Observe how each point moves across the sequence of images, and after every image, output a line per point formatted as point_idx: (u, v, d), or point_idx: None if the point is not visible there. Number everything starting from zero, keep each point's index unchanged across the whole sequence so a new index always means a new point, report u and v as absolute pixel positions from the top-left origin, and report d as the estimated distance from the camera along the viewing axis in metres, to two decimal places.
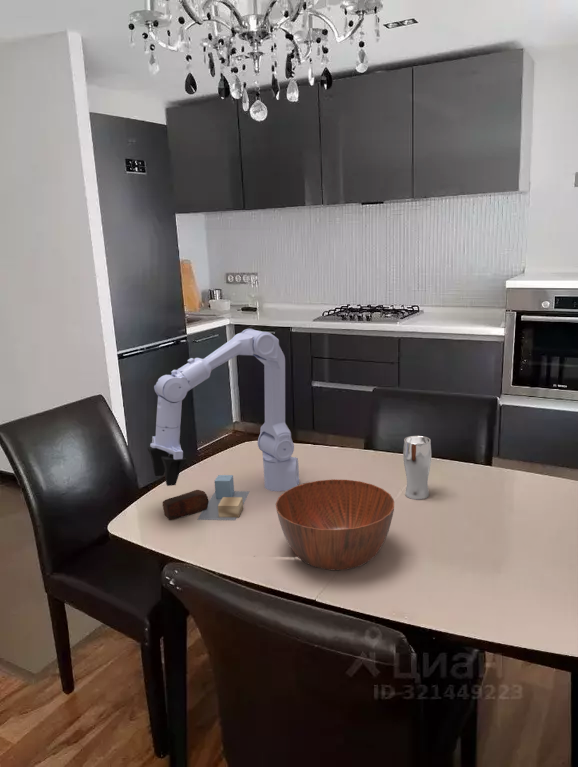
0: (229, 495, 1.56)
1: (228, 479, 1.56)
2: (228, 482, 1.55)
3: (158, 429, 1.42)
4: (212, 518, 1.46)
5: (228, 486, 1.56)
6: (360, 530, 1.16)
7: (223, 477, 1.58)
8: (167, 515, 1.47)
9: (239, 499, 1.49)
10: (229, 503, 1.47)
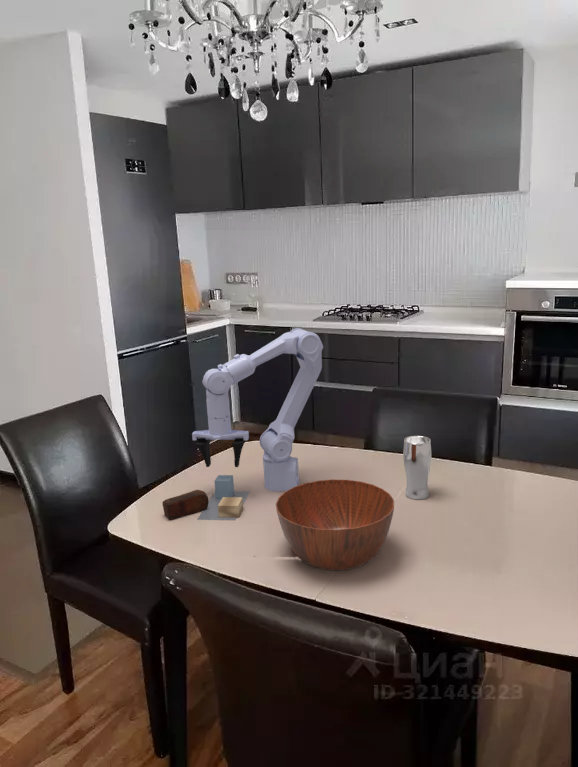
0: (229, 495, 1.56)
1: (228, 479, 1.56)
2: (228, 482, 1.55)
3: (219, 421, 1.51)
4: (212, 518, 1.46)
5: (228, 486, 1.56)
6: (360, 530, 1.16)
7: (223, 477, 1.58)
8: (167, 515, 1.47)
9: (239, 499, 1.49)
10: (229, 503, 1.47)
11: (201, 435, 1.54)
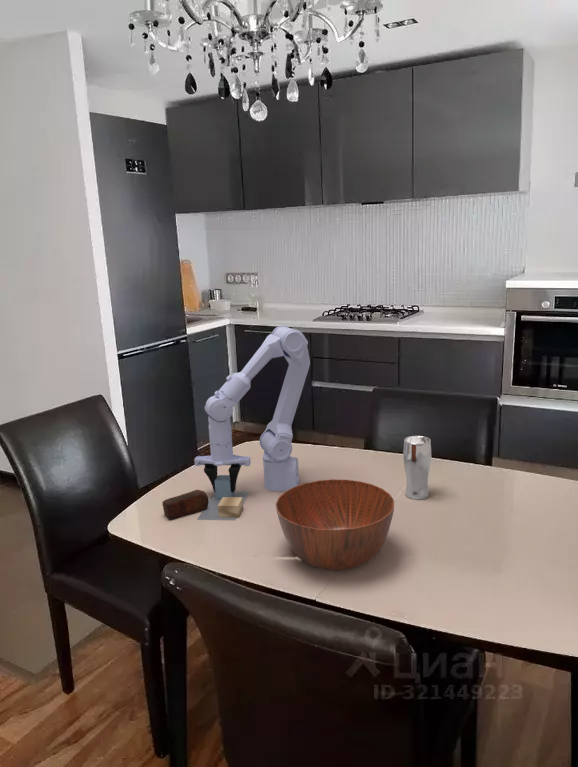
0: (229, 495, 1.56)
1: (228, 479, 1.56)
2: (228, 482, 1.55)
3: (221, 447, 1.53)
4: (212, 518, 1.46)
5: (228, 486, 1.56)
6: (360, 530, 1.16)
7: (223, 477, 1.58)
8: (167, 515, 1.47)
9: (239, 499, 1.49)
10: (229, 503, 1.47)
11: (203, 461, 1.56)
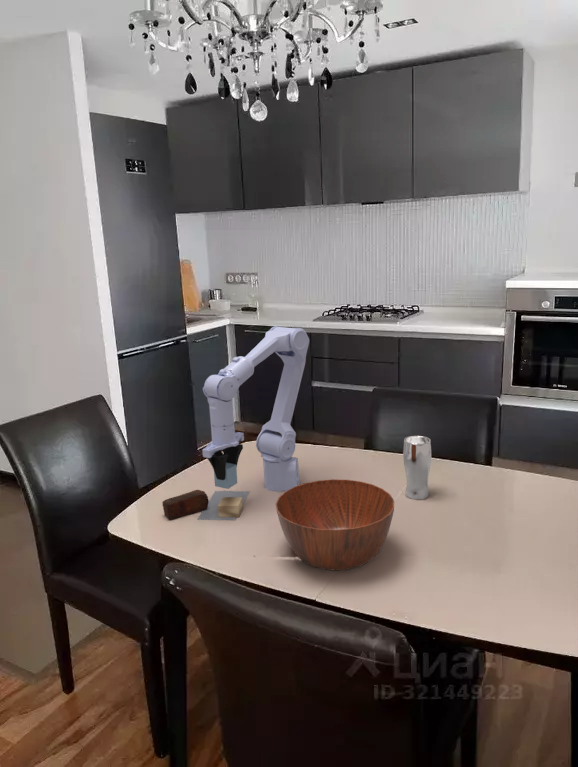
0: (236, 479, 1.51)
1: (231, 464, 1.50)
2: (235, 466, 1.50)
3: (233, 426, 1.46)
4: (212, 518, 1.46)
5: (235, 470, 1.50)
6: (360, 530, 1.16)
7: None
8: (167, 515, 1.47)
9: (239, 499, 1.49)
10: (229, 503, 1.47)
11: (217, 448, 1.43)
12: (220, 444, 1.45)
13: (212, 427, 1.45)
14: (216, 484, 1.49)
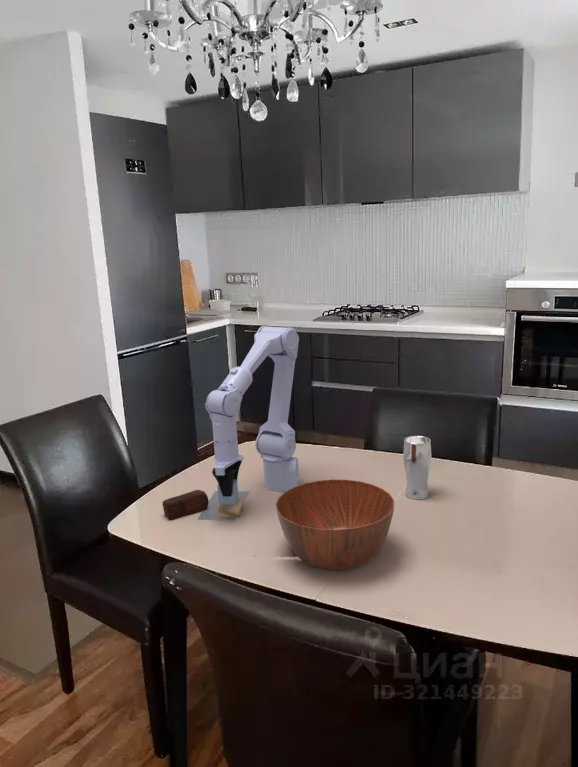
0: None
1: None
2: None
3: (237, 440, 1.45)
4: (212, 518, 1.46)
5: (237, 485, 1.48)
6: (360, 530, 1.16)
7: None
8: (167, 515, 1.47)
9: (239, 499, 1.49)
10: None
11: (228, 464, 1.41)
12: (228, 460, 1.42)
13: (218, 444, 1.42)
14: (220, 502, 1.46)
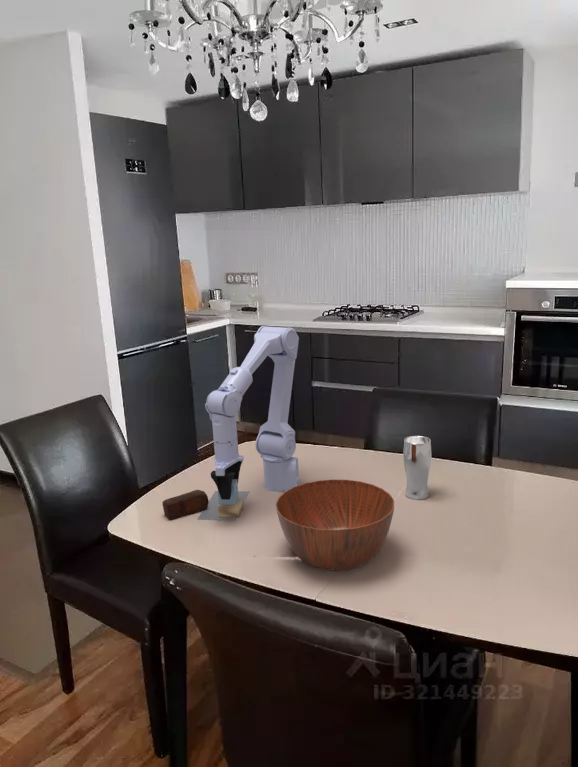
0: None
1: None
2: None
3: (237, 441, 1.45)
4: (212, 518, 1.46)
5: (237, 485, 1.48)
6: (360, 530, 1.16)
7: None
8: (167, 515, 1.47)
9: (239, 499, 1.49)
10: None
11: (228, 465, 1.41)
12: (228, 460, 1.42)
13: (218, 444, 1.42)
14: (220, 502, 1.46)
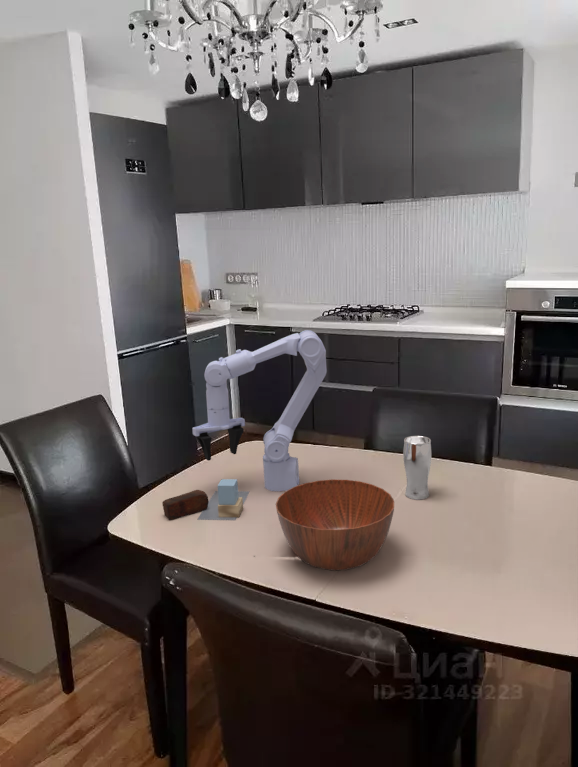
0: None
1: (232, 480, 1.48)
2: None
3: (225, 411, 1.56)
4: (212, 518, 1.46)
5: (237, 485, 1.48)
6: (360, 530, 1.16)
7: (225, 482, 1.47)
8: (167, 515, 1.47)
9: (239, 499, 1.49)
10: None
11: (206, 429, 1.55)
12: (211, 425, 1.56)
13: (207, 409, 1.57)
14: (220, 502, 1.46)
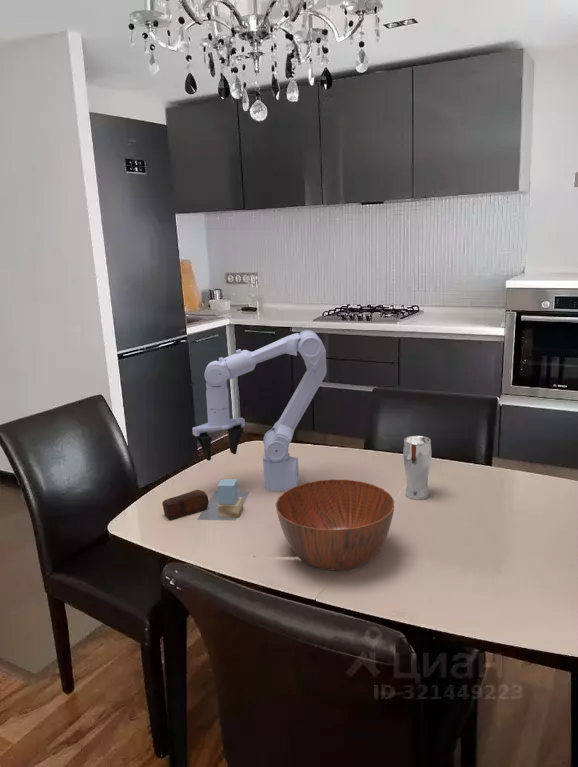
0: None
1: (232, 480, 1.48)
2: None
3: (225, 411, 1.56)
4: (212, 518, 1.46)
5: (237, 485, 1.48)
6: (360, 530, 1.16)
7: (225, 482, 1.47)
8: (167, 515, 1.47)
9: (239, 499, 1.49)
10: None
11: (206, 429, 1.55)
12: (211, 425, 1.56)
13: (207, 409, 1.57)
14: (220, 502, 1.46)
